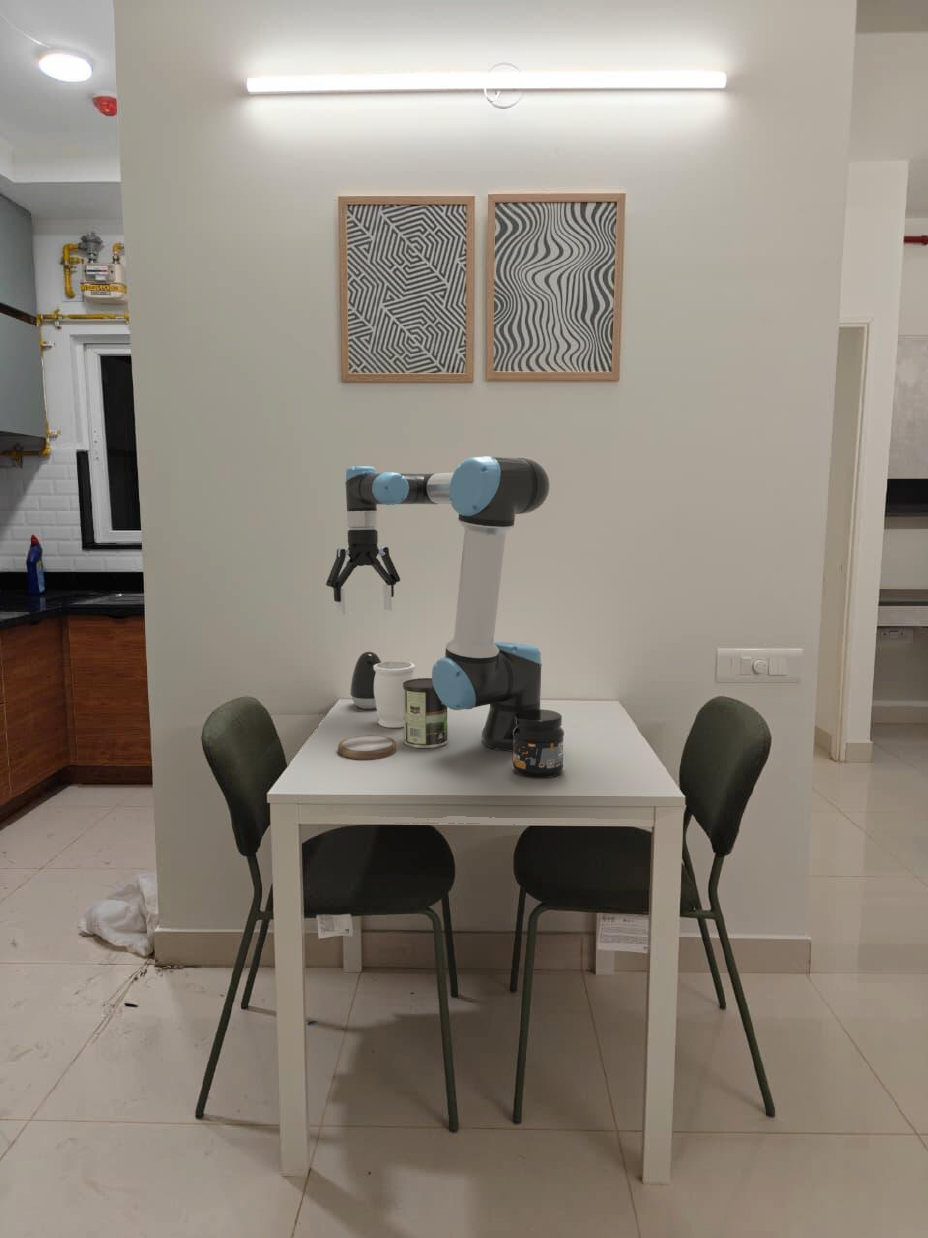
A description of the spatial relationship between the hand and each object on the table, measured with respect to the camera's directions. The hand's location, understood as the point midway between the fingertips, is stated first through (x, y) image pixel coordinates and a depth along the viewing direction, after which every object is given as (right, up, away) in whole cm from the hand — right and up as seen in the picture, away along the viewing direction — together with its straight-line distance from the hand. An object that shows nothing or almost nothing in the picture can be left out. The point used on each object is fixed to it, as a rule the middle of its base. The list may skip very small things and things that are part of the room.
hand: (365, 612), depth 209 cm
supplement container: (+41, -33, -39) cm, 66 cm away
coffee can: (+16, -30, -19) cm, 40 cm away
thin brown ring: (+4, -31, -26) cm, 41 cm away
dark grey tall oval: (0, -26, +12) cm, 28 cm away
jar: (+8, -28, -4) cm, 30 cm away
